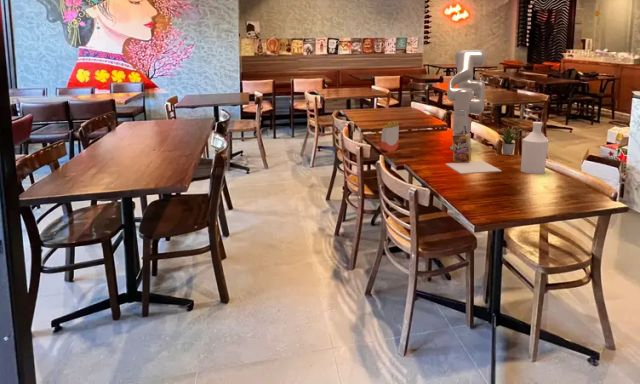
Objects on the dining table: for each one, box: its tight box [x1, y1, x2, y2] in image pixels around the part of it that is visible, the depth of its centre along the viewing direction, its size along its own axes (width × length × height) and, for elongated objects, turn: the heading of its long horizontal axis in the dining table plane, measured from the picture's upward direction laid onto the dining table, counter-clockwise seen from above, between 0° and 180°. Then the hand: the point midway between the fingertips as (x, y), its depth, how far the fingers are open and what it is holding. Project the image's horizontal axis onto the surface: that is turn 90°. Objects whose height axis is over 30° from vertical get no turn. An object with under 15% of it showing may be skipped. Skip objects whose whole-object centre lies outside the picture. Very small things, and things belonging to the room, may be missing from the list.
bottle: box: [520, 121, 549, 175], centre depth 259 cm, size 12×12×25 cm
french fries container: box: [380, 121, 400, 153], centre depth 310 cm, size 5×11×18 cm, turn 130°
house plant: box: [499, 126, 522, 155], centre depth 296 cm, size 14×14×16 cm
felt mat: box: [445, 160, 502, 175], centre depth 270 cm, size 20×22×1 cm
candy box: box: [451, 133, 472, 163], centre depth 280 cm, size 9×4×15 cm, turn 56°
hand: (459, 145), depth 285 cm, fingers closed
